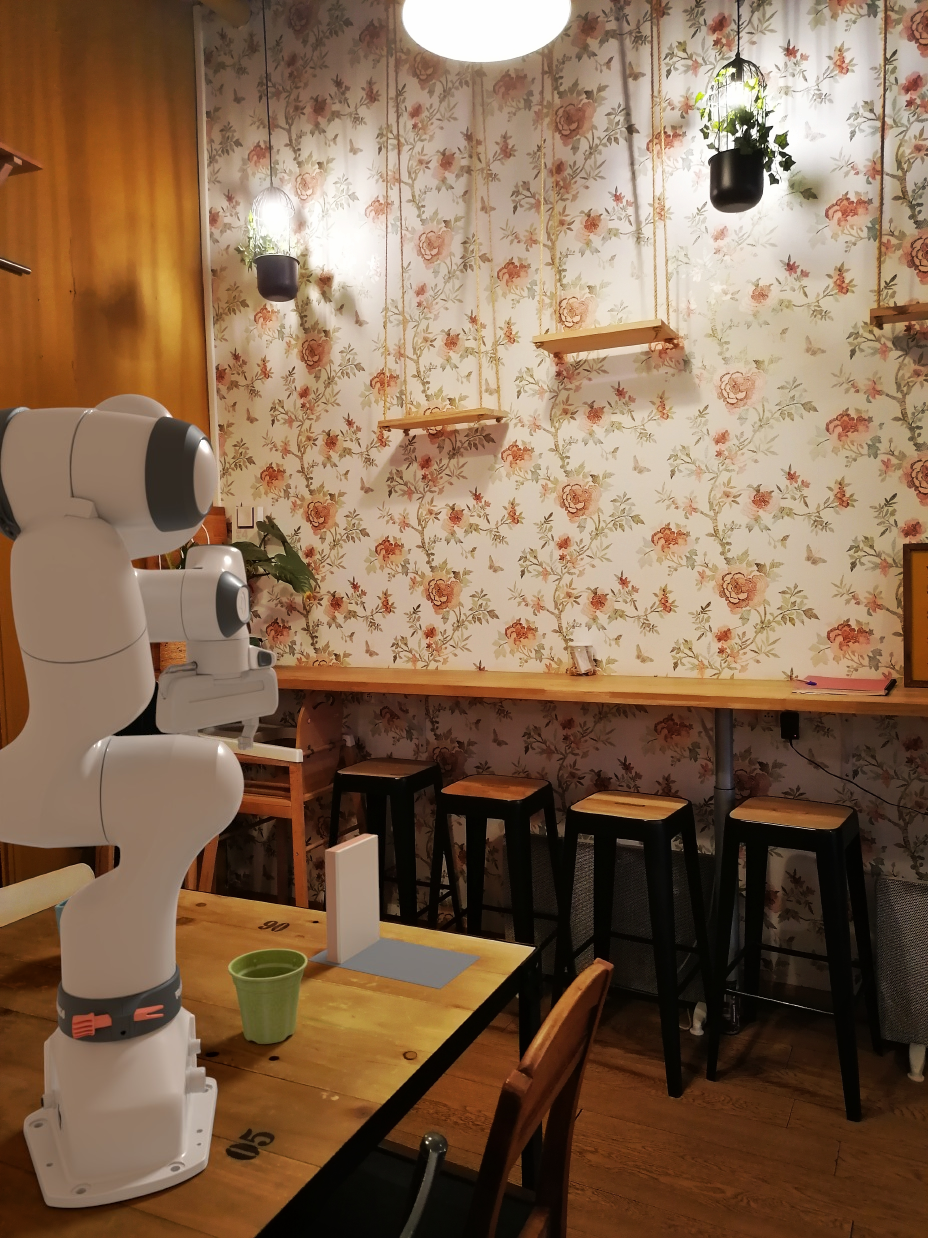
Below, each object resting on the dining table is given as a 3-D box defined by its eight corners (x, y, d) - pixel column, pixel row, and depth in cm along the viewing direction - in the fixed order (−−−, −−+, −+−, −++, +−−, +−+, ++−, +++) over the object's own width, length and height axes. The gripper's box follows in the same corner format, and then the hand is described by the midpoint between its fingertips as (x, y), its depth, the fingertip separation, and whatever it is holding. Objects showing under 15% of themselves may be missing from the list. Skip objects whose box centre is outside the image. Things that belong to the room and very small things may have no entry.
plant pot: (227, 1022, 116) (225, 953, 116) (303, 1011, 119) (301, 943, 119) (232, 1058, 107) (230, 984, 107) (314, 1045, 110) (312, 972, 110)
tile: (327, 961, 134) (324, 850, 133) (366, 937, 143) (364, 833, 142) (341, 963, 133) (338, 852, 132) (379, 939, 142) (377, 835, 141)
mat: (307, 962, 134) (307, 960, 134) (355, 934, 145) (355, 932, 145) (440, 992, 124) (440, 989, 124) (481, 959, 135) (481, 956, 135)
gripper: (175, 667, 123) (178, 771, 123) (283, 653, 140) (286, 744, 141) (143, 665, 126) (147, 766, 127) (253, 651, 143) (256, 741, 144)
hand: (221, 754), depth 134 cm, fingers open, 8 cm apart
